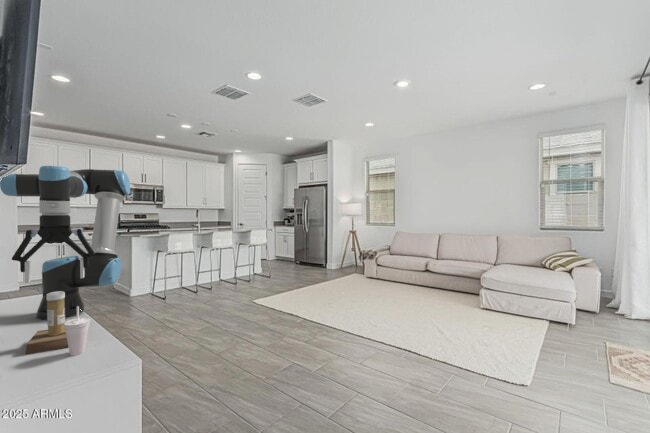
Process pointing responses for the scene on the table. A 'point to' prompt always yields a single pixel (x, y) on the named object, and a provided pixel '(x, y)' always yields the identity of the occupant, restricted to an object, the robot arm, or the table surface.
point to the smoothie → (77, 334)
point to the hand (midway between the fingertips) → (56, 279)
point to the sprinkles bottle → (55, 313)
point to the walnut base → (46, 342)
